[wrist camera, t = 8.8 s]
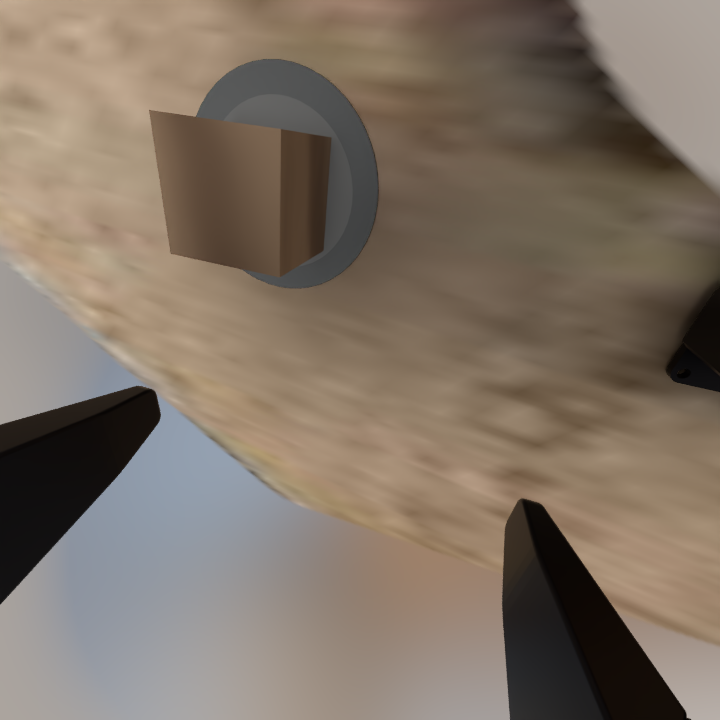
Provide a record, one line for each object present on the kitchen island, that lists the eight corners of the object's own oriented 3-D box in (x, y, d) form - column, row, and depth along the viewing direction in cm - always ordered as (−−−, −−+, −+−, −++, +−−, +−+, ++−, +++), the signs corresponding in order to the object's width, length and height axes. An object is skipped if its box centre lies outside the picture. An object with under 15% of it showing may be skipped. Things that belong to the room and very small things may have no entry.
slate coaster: (394, 71, 14) (394, 70, 14) (364, 304, 19) (363, 305, 19) (176, 49, 16) (174, 48, 16) (201, 269, 21) (200, 269, 21)
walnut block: (331, 137, 16) (280, 129, 12) (323, 250, 18) (279, 277, 14) (230, 122, 17) (149, 110, 12) (236, 233, 19) (170, 253, 15)
